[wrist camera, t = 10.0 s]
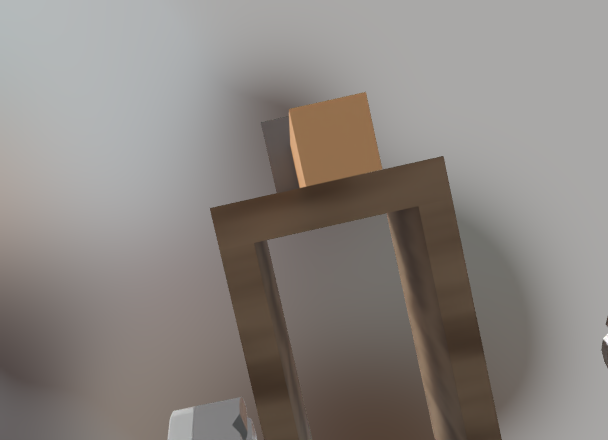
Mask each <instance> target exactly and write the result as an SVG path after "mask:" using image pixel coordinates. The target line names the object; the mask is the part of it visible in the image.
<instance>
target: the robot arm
mask: <svg viewBox="0 0 608 440" xmlns="http://www.w3.org/2000/svg"><path fill="white" fill-rule="evenodd" d="M606 325H607V326H608V317H607V322H606ZM602 354H603V358H604V362H605V364H606V365H607V367H608V334H607V335H606V336H605V337H604V339H603V343H602ZM168 440H257V436H256V432H255V429H254V425H253V423H252V420H251V419H250V418H248V417H247V409H246V405H245V402H244V400H243V398H242V397H239V398H234V399H229V400H224V401H219V402H214V403H209V404H204V405H199V406H194V407H190V408H185V409H181V410H176V411H173V413H172V415H171V417H170V422H169V433H168Z"/></svg>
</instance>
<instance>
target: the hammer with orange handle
mask: <svg viewBox="0 0 608 440" xmlns="http://www.w3.org/2000/svg"><path fill="white" fill-rule="evenodd" d="M261 125H262V130H263V134H264V138H265V143H266V147H267V152H268V156H269V161H270V165H271V169H272V174H273V178H274V183H275V187H276V191H277V193H280V192H285V191H289V190H294V189H298V188H303V187H307V186H312V185H316V184H321V183H325V182H330V181H334V180H339V179H343V178H348V177H352V176H356V175H361V174H365V173H369V172H373V171H377V170H382V166H381V161H380V156H379V152H378V147H377V142H376V138H375V133H374V128H373V124H372V119H371V114H370V109H369V105H368V100H367V95H366V93H365V92H364V93H359V94H355V95H350V96H346V97H342V98H337V99H333V100H328V101H324V102H319V103H315V104H310V105H306V106H301V107H296V108H292V109H289V116H287V117H283V118H278V119H274V120H269V121H265V122H261Z"/></svg>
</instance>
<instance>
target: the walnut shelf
mask: <svg viewBox="0 0 608 440" xmlns="http://www.w3.org/2000/svg"><path fill="white" fill-rule="evenodd" d="M210 211H211V215H212V219H213V223H214V228H215V232H216V236H217V241H218V245H219V249H220V253H221V258H222V262H223V266H224V271H225V274H226V279H227V283H228V288H229V292H230V296H231V300H232V304H233V309H234V313H235V317H236V322H237V326H238V330H239V335H240V339H241V343H242V347H243V352H244V356H245V360H246V364H247V369H248V373H249V377H250V381H251V386H252V390H253V394H254V398H255V403H256V407H257V411H258V416H259V420H260V424H261V428H262V432H263V437H264V440H312V436H311V432H310V427H309V423H308V418H307V414H306V410H305V405H304V401H303V397H302V392H301V388H300V383H299V379H298V375H297V370H296V366H295V361H294V357H293V353H292V348H291V344H290V340H289V335H288V331H287V327H286V322H285V318H284V313H283V309H282V305H281V301H280V296H279V291H278V287H277V283H276V278H275V274H274V270H273V266H272V261H271V256H270V252H269V248H268V244H267V240H269V239H274V238H278V237H283V236H287V235H292V234H296V233H300V232H305V231H309V230H314V229H318V228H323V227H327V226H332V225H336V224H341V223H345V222H349V221H354V220H358V219H362V218H367V217H372V216H376V215H381V214H385V213H387V217H388V222H389V227H390V231H391V236H392V241H393V245H394V250H395V255H396V259H397V264H398V269H399V273H400V278H401V282H402V288H403V292H404V297H405V301H406V306H407V311H408V316H409V319H410V325H411V330H412V334H413V339H414V344H415V348H416V353H417V358H418V362H419V367H420V372H421V376H422V381H423V386H424V390H425V395H426V400H427V404H428V409H429V413H430V418H431V423H432V427H433V433H434V437H435V440H502V439H501V434H500V429H499V424H498V419H497V415H496V410H495V405H494V400H493V395H492V390H491V386H490V381H489V376H488V371H487V366H486V361H485V357H484V351H483V346H482V342H481V337H480V332H479V327H478V322H477V317H476V312H475V308H474V303H473V298H472V293H471V288H470V283H469V278H468V274H467V269H466V264H465V260H464V254H463V249H462V244H461V240H460V236H459V230H458V225H457V220H456V215H455V210H454V205H453V201H452V196H451V191H450V186H449V182H448V176H447V172H446V167H445V162H444V157H443V156H441V157H437V158H433V159H428V160H424V161H419V162H415V163H410V164H406V165H401V166H397V167H393V168H388V169H383V170H379V171H374V172H370V173H365V174H361V175H356V176H352V177H348V178H343V179H339V180H334V181H330V182H325V183H321V184H316V185H312V186H307V187H303V188H298V189H294V190H289V191H285V192H280V193H276V194H271V195H267V196H263V197H258V198H254V199H249V200H245V201H240V202H236V203H231V204H227V205H222V206H218V207H213V208H210Z"/></svg>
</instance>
